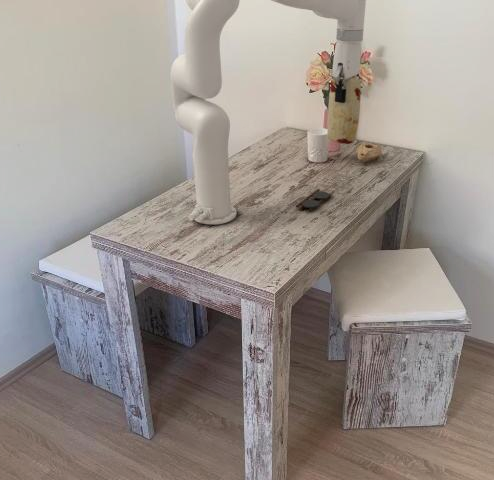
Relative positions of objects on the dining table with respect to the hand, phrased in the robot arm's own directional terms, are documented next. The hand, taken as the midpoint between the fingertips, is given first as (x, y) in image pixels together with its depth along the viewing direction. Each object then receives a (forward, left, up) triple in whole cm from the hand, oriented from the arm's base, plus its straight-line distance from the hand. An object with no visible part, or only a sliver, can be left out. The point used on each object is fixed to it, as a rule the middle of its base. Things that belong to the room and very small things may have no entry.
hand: (345, 99), depth 174 cm
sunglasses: (-21, -2, -25) cm, 33 cm away
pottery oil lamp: (+19, -1, -26) cm, 32 cm away
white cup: (+12, +14, -26) cm, 32 cm away
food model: (0, 0, -13) cm, 13 cm away
